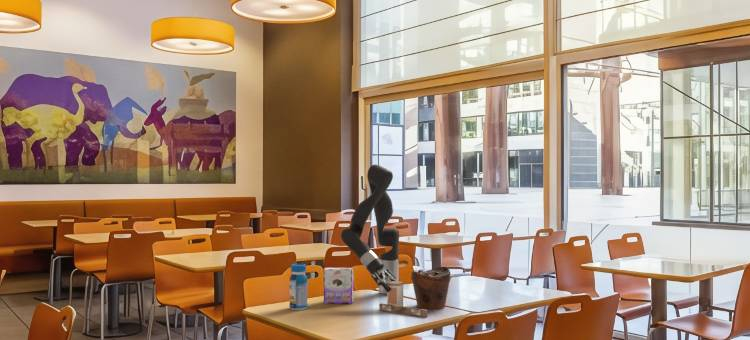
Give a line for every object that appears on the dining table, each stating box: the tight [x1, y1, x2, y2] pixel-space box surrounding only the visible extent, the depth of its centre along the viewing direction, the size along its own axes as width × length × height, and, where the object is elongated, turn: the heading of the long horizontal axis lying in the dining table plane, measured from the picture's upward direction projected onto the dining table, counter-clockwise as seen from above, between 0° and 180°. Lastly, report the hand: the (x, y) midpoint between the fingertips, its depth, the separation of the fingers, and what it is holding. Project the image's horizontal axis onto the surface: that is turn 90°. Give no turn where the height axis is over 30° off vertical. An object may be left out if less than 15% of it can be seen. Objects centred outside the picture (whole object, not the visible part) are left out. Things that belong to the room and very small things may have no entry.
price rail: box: [378, 303, 429, 318], centre depth 283 cm, size 24×2×3 cm, turn 56°
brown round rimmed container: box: [410, 266, 451, 310], centre depth 299 cm, size 18×20×18 cm
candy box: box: [322, 267, 354, 305], centre depth 308 cm, size 14×6×16 cm, turn 84°
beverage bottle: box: [288, 263, 309, 311], centre depth 294 cm, size 8×8×20 cm
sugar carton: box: [386, 281, 405, 307], centre depth 294 cm, size 6×6×12 cm
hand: (393, 289), depth 294 cm, fingers open, 8 cm apart
